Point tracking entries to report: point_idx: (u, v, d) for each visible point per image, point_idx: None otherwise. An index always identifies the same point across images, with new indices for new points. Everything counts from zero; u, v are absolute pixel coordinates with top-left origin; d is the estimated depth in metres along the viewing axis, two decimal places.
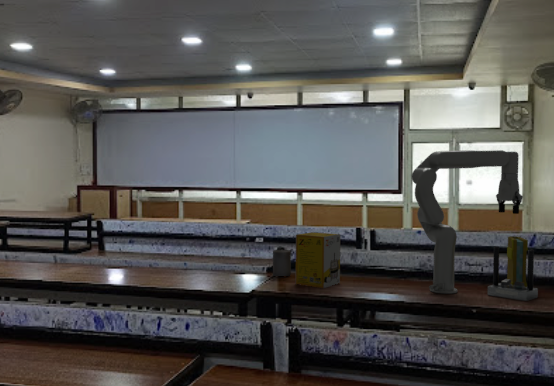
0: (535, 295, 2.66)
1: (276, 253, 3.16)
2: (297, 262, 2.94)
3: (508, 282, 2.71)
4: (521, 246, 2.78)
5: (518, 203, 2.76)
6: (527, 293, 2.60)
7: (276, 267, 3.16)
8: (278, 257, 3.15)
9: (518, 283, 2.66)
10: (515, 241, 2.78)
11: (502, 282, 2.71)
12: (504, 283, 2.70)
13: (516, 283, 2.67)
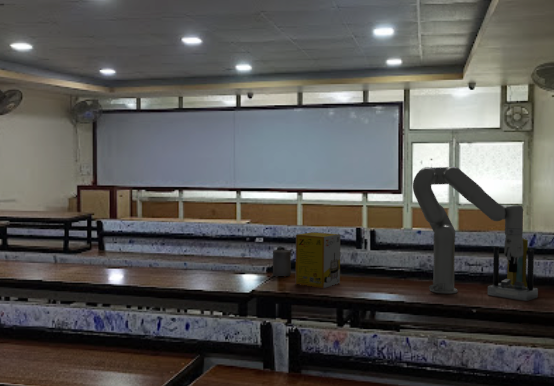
0: (535, 295, 2.66)
1: (276, 253, 3.16)
2: (297, 262, 2.94)
3: (508, 282, 2.71)
4: None
5: None
6: (527, 293, 2.60)
7: (276, 267, 3.16)
8: (278, 257, 3.15)
9: (518, 283, 2.66)
10: None
11: (502, 282, 2.71)
12: (504, 283, 2.70)
13: (516, 283, 2.67)
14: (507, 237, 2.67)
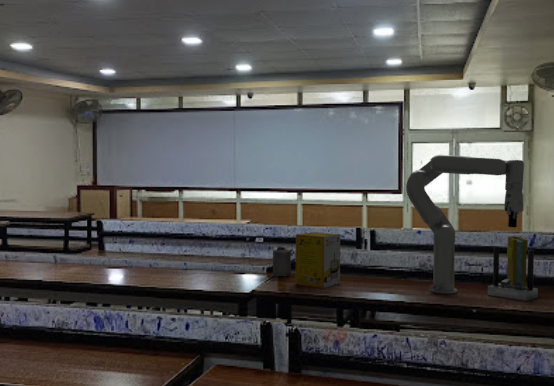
0: (535, 295, 2.66)
1: (276, 253, 3.16)
2: (297, 262, 2.94)
3: (508, 282, 2.71)
4: (521, 246, 2.78)
5: None
6: (527, 293, 2.60)
7: (276, 267, 3.16)
8: (278, 257, 3.15)
9: (518, 283, 2.66)
10: (515, 241, 2.78)
11: (502, 282, 2.71)
12: (504, 283, 2.70)
13: (516, 283, 2.67)
14: (507, 191, 2.66)
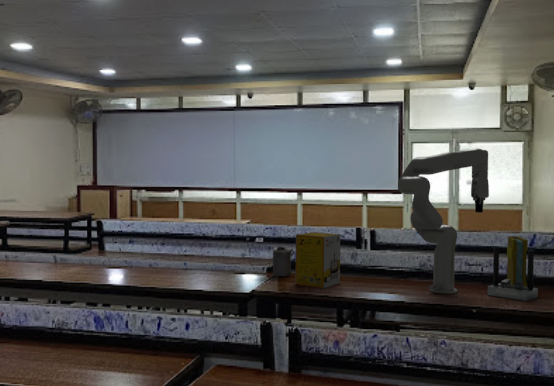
0: (535, 295, 2.66)
1: (276, 253, 3.16)
2: (297, 262, 2.94)
3: (508, 282, 2.71)
4: (521, 246, 2.78)
5: None
6: (527, 293, 2.60)
7: (276, 267, 3.16)
8: (278, 257, 3.15)
9: (518, 283, 2.66)
10: (515, 241, 2.78)
11: (502, 282, 2.71)
12: (504, 283, 2.70)
13: (516, 283, 2.67)
14: (473, 179, 2.87)
